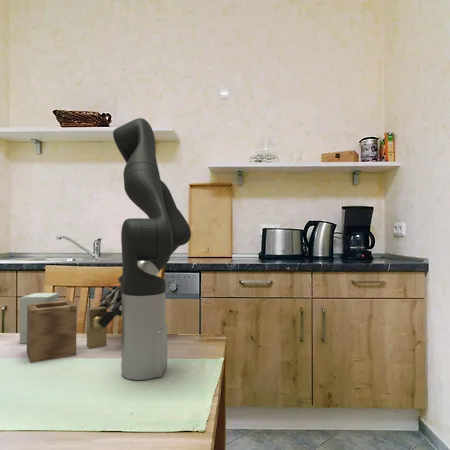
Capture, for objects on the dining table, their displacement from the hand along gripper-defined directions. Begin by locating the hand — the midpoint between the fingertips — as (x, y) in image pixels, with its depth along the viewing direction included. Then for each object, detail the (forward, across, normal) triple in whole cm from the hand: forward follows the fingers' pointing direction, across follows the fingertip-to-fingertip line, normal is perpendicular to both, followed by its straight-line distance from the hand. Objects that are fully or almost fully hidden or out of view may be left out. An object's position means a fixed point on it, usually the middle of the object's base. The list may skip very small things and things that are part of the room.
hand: (96, 321), depth 97 cm
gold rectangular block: (+4, 0, +4) cm, 6 cm away
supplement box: (+13, -14, -4) cm, 20 cm away
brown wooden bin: (+12, 0, -3) cm, 13 cm away
